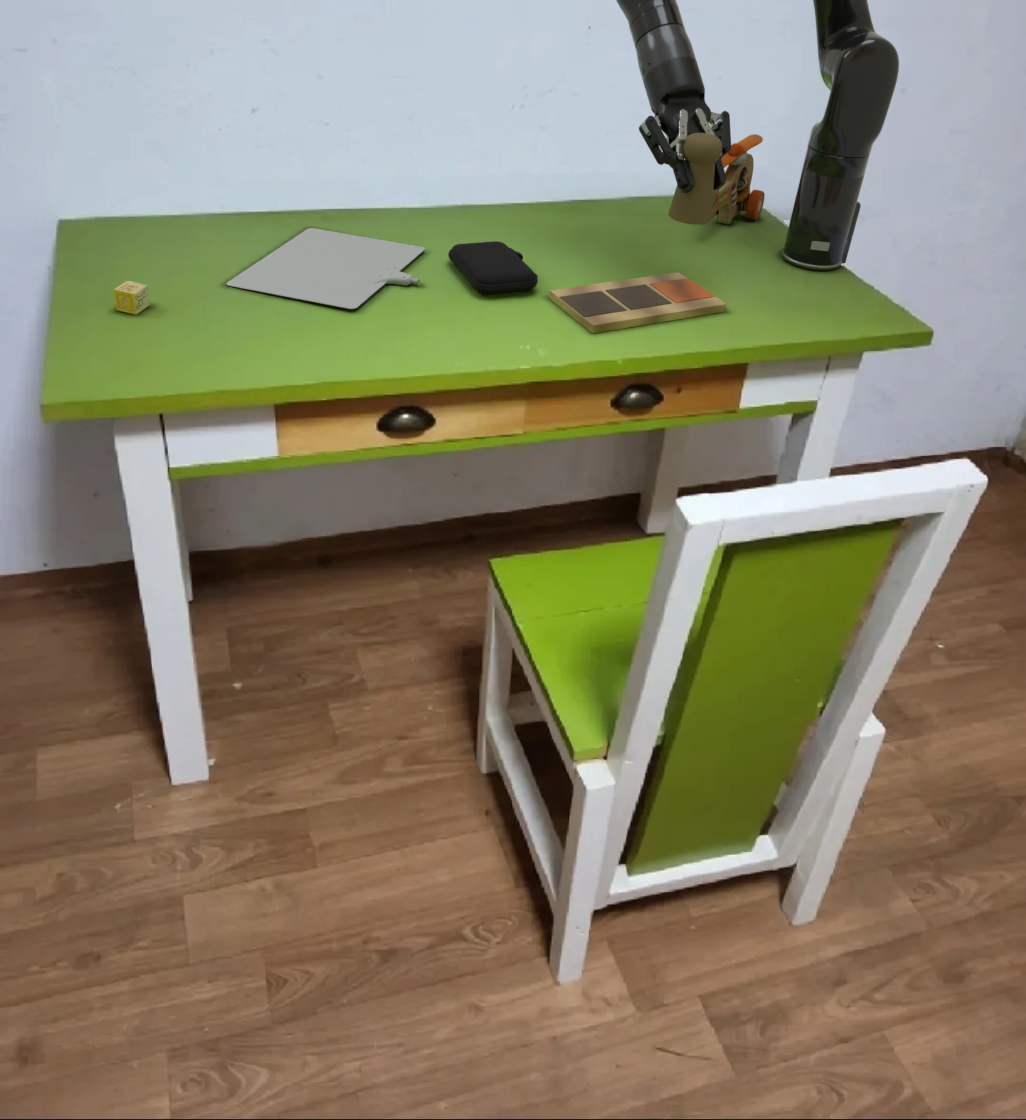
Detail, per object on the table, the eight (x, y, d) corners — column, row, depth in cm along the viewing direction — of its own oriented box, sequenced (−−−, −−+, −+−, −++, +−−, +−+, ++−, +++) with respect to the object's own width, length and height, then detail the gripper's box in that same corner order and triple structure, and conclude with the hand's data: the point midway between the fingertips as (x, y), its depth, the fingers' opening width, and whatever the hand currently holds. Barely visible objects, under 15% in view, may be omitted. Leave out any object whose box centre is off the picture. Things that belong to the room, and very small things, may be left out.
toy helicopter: (763, 215, 185) (781, 133, 176) (721, 249, 170) (738, 162, 162) (719, 204, 188) (734, 123, 179) (674, 237, 173) (689, 150, 165)
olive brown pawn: (710, 227, 144) (726, 144, 138) (666, 220, 145) (680, 137, 138) (712, 213, 149) (728, 132, 143) (670, 206, 150) (683, 125, 143)
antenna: (381, 319, 140) (381, 310, 139) (224, 288, 145) (223, 280, 145) (450, 256, 159) (451, 248, 158) (309, 231, 164) (309, 224, 164)
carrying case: (548, 294, 150) (510, 255, 161) (550, 274, 149) (512, 236, 159) (478, 301, 147) (444, 260, 158) (479, 280, 145) (444, 241, 156)
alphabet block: (150, 306, 138) (147, 284, 136) (137, 315, 136) (134, 293, 134) (129, 302, 139) (126, 279, 137) (116, 311, 136) (112, 288, 134)
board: (676, 279, 158) (678, 271, 158) (724, 311, 150) (726, 303, 149) (548, 298, 149) (549, 289, 149) (592, 333, 141) (593, 324, 140)
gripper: (638, 56, 138) (675, 179, 137) (727, 52, 144) (762, 171, 143) (612, 88, 145) (646, 206, 144) (697, 84, 150) (731, 197, 149)
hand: (704, 188), depth 143 cm, fingers closed on olive brown pawn, 4 cm apart
